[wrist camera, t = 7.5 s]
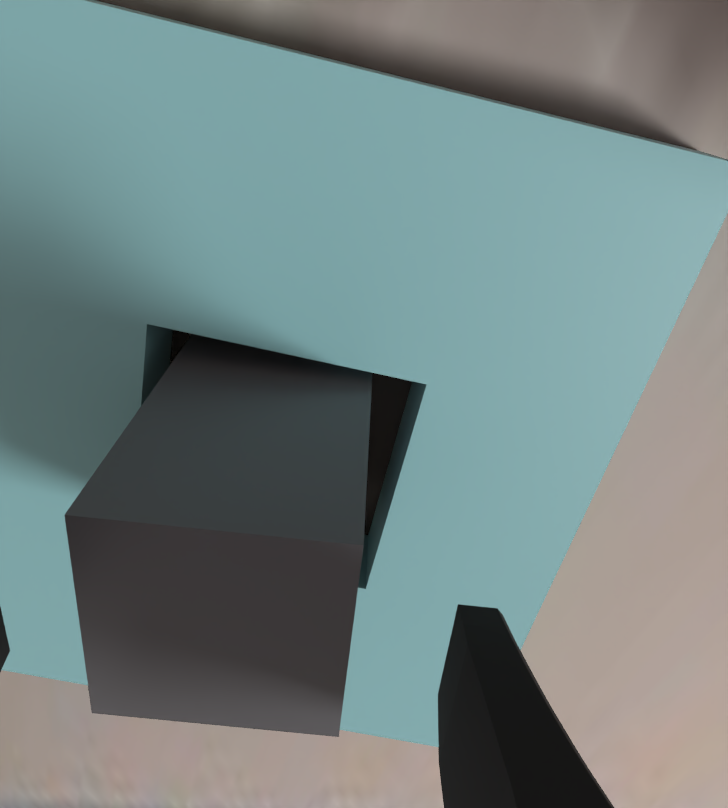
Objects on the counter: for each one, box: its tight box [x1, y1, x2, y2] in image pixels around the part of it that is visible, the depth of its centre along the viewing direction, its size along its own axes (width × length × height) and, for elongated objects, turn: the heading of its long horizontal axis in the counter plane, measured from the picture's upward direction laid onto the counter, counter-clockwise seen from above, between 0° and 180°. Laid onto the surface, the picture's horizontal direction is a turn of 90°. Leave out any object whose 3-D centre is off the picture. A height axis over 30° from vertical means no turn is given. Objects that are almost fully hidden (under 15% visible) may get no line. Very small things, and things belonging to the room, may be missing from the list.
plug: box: [64, 334, 372, 737], centre depth 13 cm, size 4×4×7 cm
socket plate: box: [0, 0, 728, 747], centre depth 15 cm, size 14×16×2 cm
